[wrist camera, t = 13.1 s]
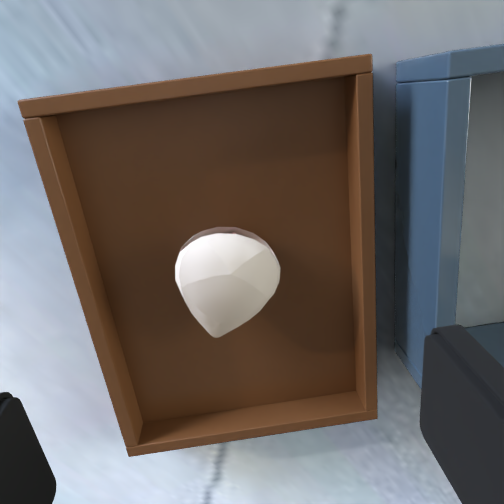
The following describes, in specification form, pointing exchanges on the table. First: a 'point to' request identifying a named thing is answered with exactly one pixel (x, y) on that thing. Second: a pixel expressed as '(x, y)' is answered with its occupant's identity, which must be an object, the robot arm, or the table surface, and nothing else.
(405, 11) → the table surface
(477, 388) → the robot arm
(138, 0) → the table surface
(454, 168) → the basin
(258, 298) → the white teardrop piece
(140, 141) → the tray
